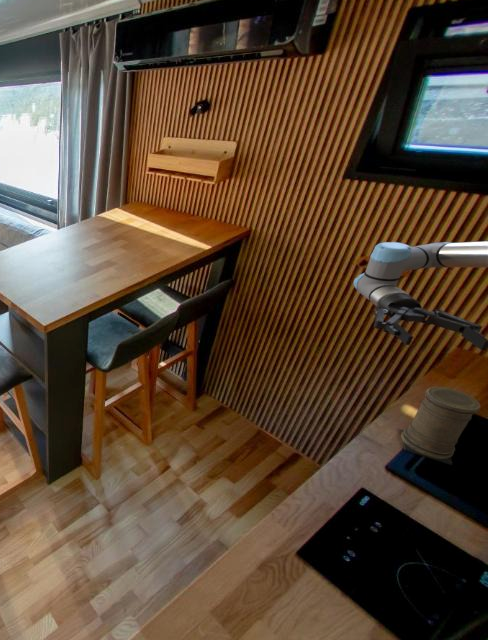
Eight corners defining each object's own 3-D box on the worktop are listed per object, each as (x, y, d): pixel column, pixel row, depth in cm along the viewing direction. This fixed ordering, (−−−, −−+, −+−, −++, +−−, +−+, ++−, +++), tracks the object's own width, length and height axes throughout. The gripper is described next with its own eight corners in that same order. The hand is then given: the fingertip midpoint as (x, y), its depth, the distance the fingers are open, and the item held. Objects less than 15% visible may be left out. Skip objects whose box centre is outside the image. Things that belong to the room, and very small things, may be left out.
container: (442, 465, 94) (474, 416, 87) (393, 440, 102) (418, 393, 94) (459, 450, 97) (491, 401, 89) (409, 427, 104) (435, 380, 97)
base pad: (445, 445, 99) (446, 442, 99) (451, 466, 95) (452, 463, 94) (400, 432, 105) (401, 429, 104) (403, 451, 100) (405, 448, 99)
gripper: (449, 315, 108) (512, 360, 91) (337, 310, 118) (375, 349, 101) (460, 294, 104) (528, 335, 87) (344, 291, 115) (384, 327, 98)
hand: (446, 343), depth 94 cm, fingers open, 13 cm apart
